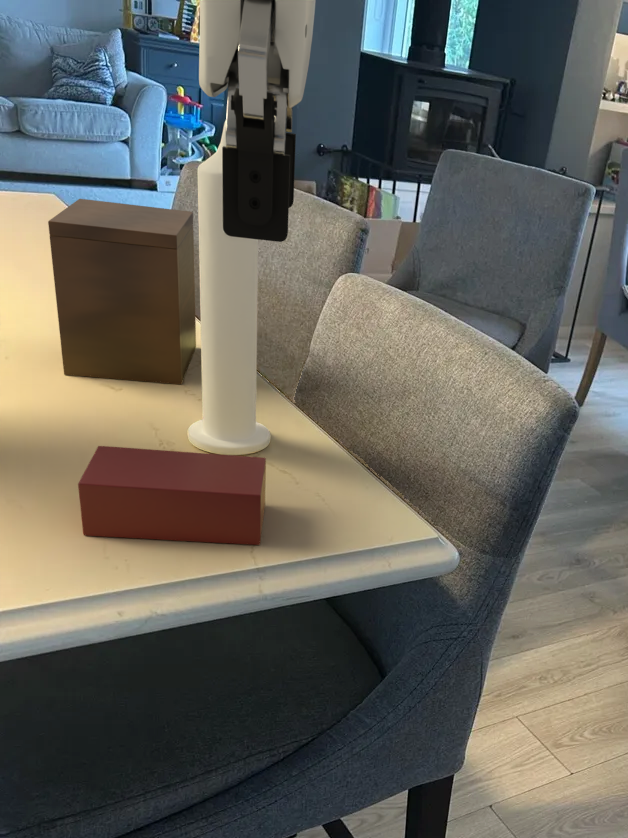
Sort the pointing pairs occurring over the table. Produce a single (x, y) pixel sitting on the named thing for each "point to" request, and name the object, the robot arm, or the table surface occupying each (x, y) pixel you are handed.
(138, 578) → the table surface
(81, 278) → the brown rectangular block
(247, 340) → the candle
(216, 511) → the red rectangular block
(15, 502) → the table surface
